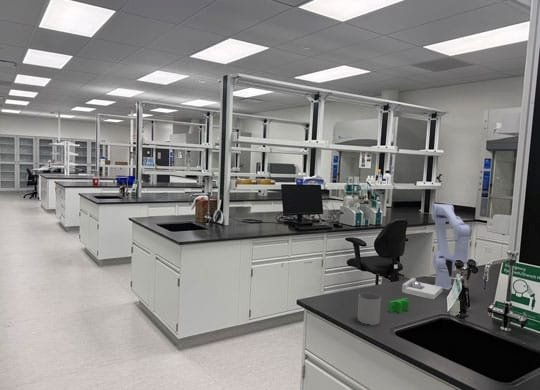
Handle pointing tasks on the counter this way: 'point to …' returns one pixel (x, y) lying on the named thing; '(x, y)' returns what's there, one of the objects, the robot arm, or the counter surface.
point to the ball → (416, 285)
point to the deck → (422, 289)
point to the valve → (456, 308)
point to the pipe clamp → (399, 305)
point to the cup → (369, 308)
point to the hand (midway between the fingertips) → (458, 277)
